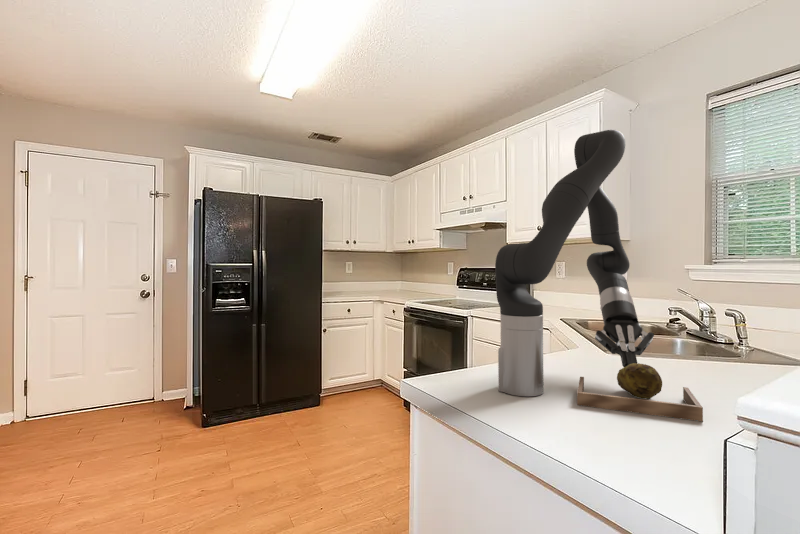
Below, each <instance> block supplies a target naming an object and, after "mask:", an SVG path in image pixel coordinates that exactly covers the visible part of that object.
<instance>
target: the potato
mask: <svg viewBox="0 0 800 534" xmlns="http://www.w3.org/2000/svg"><path fill="white" fill-rule="evenodd" d="M617 372H618V373H617V374H616V380H617V381H616V382H617V384H618V386H619V387H620V388H621V389H622V390H624V391H625V392H626V393H628V394H630V395H631V396H633V397H634V398H637V399H645V400H651V398H653V397H655V396H657V395H658V394H660V393H661V392H662V388H663V379H662V377H661V375H660V373H659V372H658V371H657V369H655V367H653V366H651V365H648V364H646V363H645V364H644V363H639V362H637V364H636V363H633V364H630V365H628V366H626V367H622V368H620V369H619V370H618V371H617Z"/></svg>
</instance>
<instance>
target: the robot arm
mask: <svg viewBox="0 0 800 534" xmlns="http://www.w3.org/2000/svg"><path fill="white" fill-rule="evenodd" d="M573 150H574V151H573V152H574V160H575V167H576V168H575V169H573V171H570V172H569V173H568V174H567V175H565V176H564V177H561V179H560V180H559V181H557V182H556V183H555V185H554V186H553V187H552V189H551V190H550V191H549V193H548V194H547V195H546V196H545V198H544V201H543V202H542V207H541V218H542V223H543V224H542V226H541V228H540V230H539V231H538V232H537V234H536V235H535V236H534V238H533V239H532V240H530V241H529V242H523V243H522V242H521V243H511V244H509V243H508V244H506V245H503V246H502V247H500V248H499V250H498V251H497V253H496V256H495V257H496V258H495V267H494V268H495V269H494V270H495V273H494V274H495V275H494V276H495V287H496V289H495V290H496V299H497V303H498V305H499V308H500V309H499V310H500V317H499V318H500V347H498V350H497V351H498V352H497V354H498V355H497V357H498V361H497V362H498V365H497V366H498V375H497V377H498V381H497V382H498V392H501V393H506V394H508V395H512V396H517V397H518V396H519V397H535V396H536V397H537V396H541V395H543V394H544V384H545V383H544V307H543V303H542V302H541V301H540V300H538V299H537V298H535V297H533V296H532V295H531V294H530V293H529V291H528V289H527V285H537V284H540V283H542V282H543V281H544V280H546V279H547V277H548V276H549V274H550V273H551V271H552V269H553V267H554V265H555V262H556V261H557V259H558V256H559V255H560V252H561V251H562V248H563V246H564V244H565V242H566V241H567V239H568V237H569V235H570V234H571V232H572V230H573V228H574V227H575V226H576V224H577V222H578V221H579V219H580V218H581V216H582V215H583V214H584V213H585V210H586V209H587V211H588V212H587V213H588V219H589V229H590V239H591V242H592V243H593V244H595V245H598V246H608V247H611V248H612V250H609V251H608V250H607V251H599V252H598V251H597V252H593V253H591V254H590V255H588V257H587V260H586V266H587V270H588V272H589V274H590V276H591V277H592V278H593V280H594V281H595V284H596V285H597V289H598V293H599V305H600V311H601V315H602V321H603V328H602V330H596V331H595V336H594V339H595V340H596V341H597V342H598V343H599V344H600V345H602V346H603V347H604V348H605V349H606V350H607V351H609V352H610V353H611V354H612V355H618V356H620V361H621V366H622V368H624V367H626V366H628V365H630V364H633V363H636V364H638V360H637V356H641V355H642V354H643V353H644V352H645V351H646V350H647V348H648V347H649V345H650V344H651V343H652V342H653V339H654V337H655V334H654V333H653V332H651V331H650V332H646V331H645V330H643V326H641V325H640V323H639V320H638V319H639V318H638V315H637V312H636V309H635V308H636V306H635V305H634V304H635V303H634V300H633V297H632V295H631V293H630V288H629V285H628V281H627V278H626V277H625V276H624V275H625V274H627V273H628V271H629V269H630V264H631V263H630V261H629V257H628V255H627V253H626V251H625V249H624V246H623V244H622V240H621V235H620V234H621V233H620V227H619V224H620V223H619V217H618V215H619V214H618V212H617V208H616V207H615V204H614V203H613V201H612V200H611V199H610V197H609V196H608V195H607V193H606V191H604V189H603V188H602V186H601V185H602V184H603V183H604V182H605V180H606V179H607V177H609V175H611V173H612V172H613V171H614V170H615V168H616V167H617V166H618V164H619V163H620V162H621V160H622V159H623V157H624V154H625V150H626V138H625V136H624V134H623V133H622V131H619V130H616V129H605V130H602V131H597V132H592V133H587V134H583V135H580V136H579V137H578V138H577V140H576V141H575V144H574V148H573ZM639 338H641V339H640V340H641V341H640V342H639V343H638V345H637V346H636V345H635V343H636V342H637V340H638V339H639Z"/></svg>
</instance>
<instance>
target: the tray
mask: <svg viewBox="0 0 800 534" xmlns="http://www.w3.org/2000/svg"><path fill="white" fill-rule="evenodd" d="M682 388H683V389H682V392H683V395H682V396H683V398H682V399H683V400H684V402H685V403H680V402H679V403H678V402H672V401H671V402H669V401H659V400H651V399H641V398H638V397H626V396H620V395H609V394H602V393H592V392H584V391H585V377H584V376H579V382H578V387H577V391H576V392H577V393H576V395H577V396H576V397H577V398H576V399H577V400H576V401H577V402H576V403H577V406H581V405H582V407H590V408H591V407H592V408H598V409H603V410H604V409H605V410H612V411H613V410H614V411H618V412H619V411H621V412H628V413H637V414H643V415H652V416H657V415H658V416H659V417H665V416H666V418H667V417H668V418H672V417H674V418H673V419H680V418H682V420H688V419H690V420H689V421H695V420H698V421H697V422H703V421H704V411H703V410H704V409H703V406H702V404H701V403H700V402H699V401H698V399H697V398H696V396H695V395H694V394H693V393H692V391H691V390H690V388H689V387H687V386H686V387H685V386H684V387H682Z"/></svg>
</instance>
